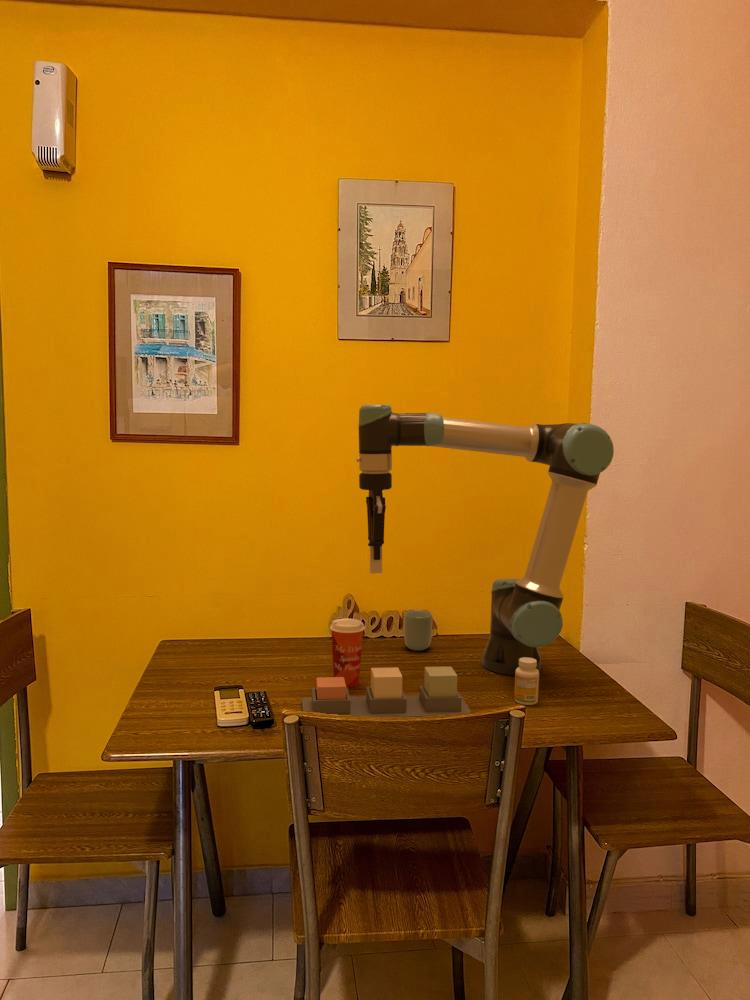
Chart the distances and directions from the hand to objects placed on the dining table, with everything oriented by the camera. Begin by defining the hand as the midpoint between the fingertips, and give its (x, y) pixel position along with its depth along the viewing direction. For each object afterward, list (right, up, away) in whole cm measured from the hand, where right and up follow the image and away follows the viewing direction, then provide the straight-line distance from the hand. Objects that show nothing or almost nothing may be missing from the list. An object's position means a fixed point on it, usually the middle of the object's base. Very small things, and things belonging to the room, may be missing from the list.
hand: (376, 572), depth 174 cm
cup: (+12, -25, +33) cm, 43 cm away
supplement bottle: (+34, -29, -4) cm, 45 cm away
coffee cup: (-7, -27, +5) cm, 29 cm away
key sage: (+14, -25, -11) cm, 31 cm away
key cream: (+2, -25, -12) cm, 28 cm away
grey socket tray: (+2, -29, -12) cm, 32 cm away
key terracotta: (-10, -27, -13) cm, 32 cm away
